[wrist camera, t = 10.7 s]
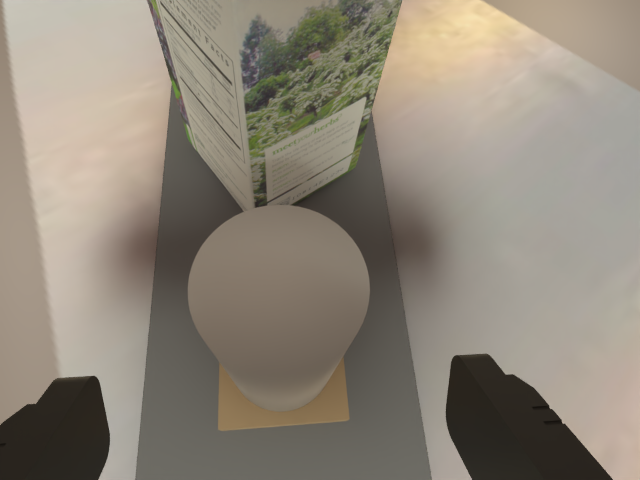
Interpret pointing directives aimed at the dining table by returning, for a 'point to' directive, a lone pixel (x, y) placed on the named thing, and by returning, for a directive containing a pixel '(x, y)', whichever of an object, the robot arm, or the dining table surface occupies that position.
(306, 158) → the syrup box
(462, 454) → the robot arm
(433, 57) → the dining table surface
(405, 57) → the dining table surface
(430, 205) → the dining table surface
